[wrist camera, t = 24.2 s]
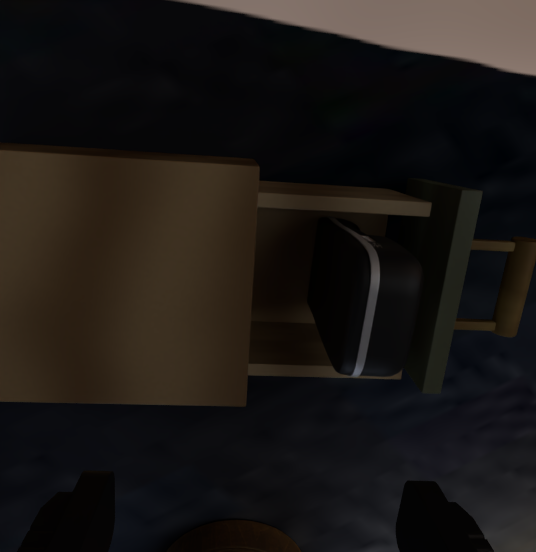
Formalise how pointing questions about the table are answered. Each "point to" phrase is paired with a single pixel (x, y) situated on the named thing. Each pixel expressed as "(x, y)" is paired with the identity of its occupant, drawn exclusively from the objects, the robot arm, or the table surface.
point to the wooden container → (234, 538)
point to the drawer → (373, 221)
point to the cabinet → (125, 276)
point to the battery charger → (363, 298)
